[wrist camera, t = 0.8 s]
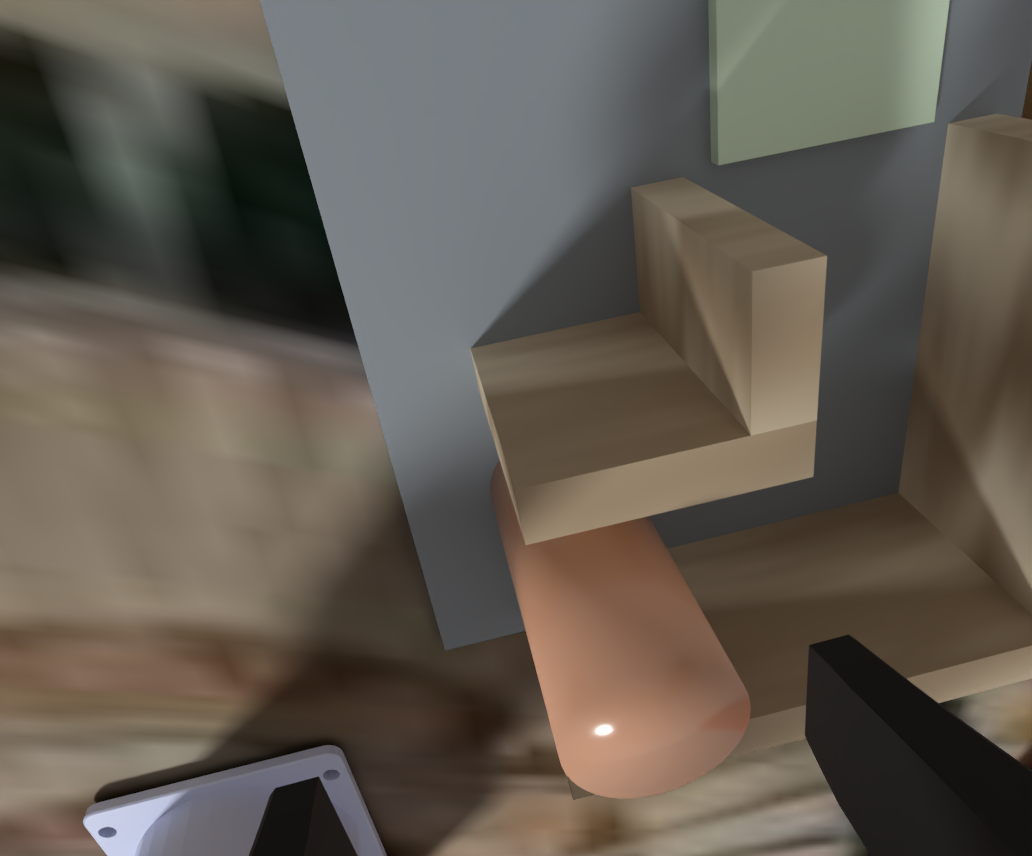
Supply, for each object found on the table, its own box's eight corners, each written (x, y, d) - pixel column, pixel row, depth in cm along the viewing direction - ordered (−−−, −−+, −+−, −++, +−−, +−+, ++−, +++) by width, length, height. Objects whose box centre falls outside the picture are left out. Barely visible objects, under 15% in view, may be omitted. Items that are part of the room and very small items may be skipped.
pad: (922, 119, 17) (934, 121, 17) (711, 162, 17) (718, 165, 16) (955, -157, 14) (969, -161, 14) (706, -114, 14) (714, -117, 14)
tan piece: (930, 515, 23) (1092, 661, 18) (523, 615, 22) (573, 799, 17) (997, 113, 17) (1267, 161, 12) (445, 225, 16) (484, 328, 11)
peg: (623, 520, 21) (749, 769, 14) (501, 549, 21) (570, 817, 14) (612, 413, 19) (751, 639, 12) (479, 443, 19) (546, 691, 12)
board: (937, 517, 24) (947, 526, 24) (443, 638, 23) (445, 651, 22) (1060, -204, 15) (1081, -211, 14) (244, -67, 14) (239, -69, 13)
